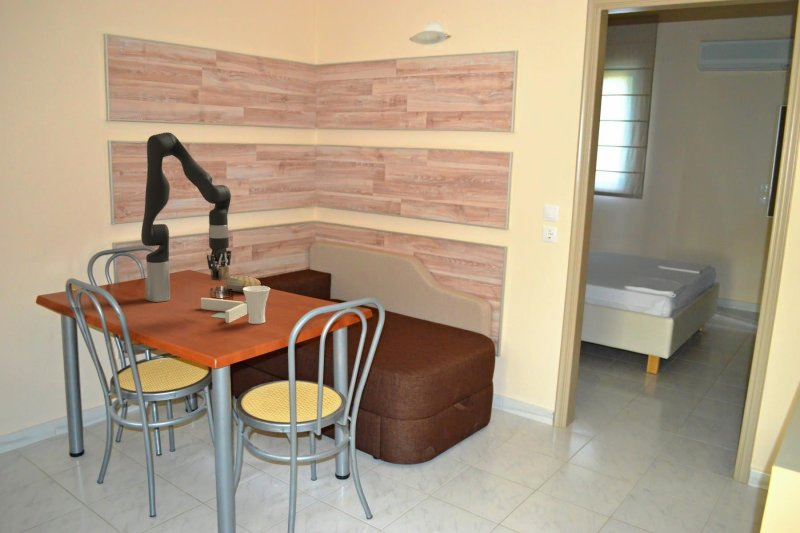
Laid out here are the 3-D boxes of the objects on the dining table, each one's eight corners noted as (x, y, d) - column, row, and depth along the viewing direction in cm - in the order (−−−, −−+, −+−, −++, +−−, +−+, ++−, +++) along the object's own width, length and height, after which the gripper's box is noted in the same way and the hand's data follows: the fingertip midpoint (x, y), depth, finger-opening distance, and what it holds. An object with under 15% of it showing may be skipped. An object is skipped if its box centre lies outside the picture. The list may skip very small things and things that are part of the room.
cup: (257, 327, 254) (256, 292, 251) (237, 322, 259) (236, 288, 256) (276, 321, 262) (275, 288, 260) (256, 316, 268) (256, 284, 265)
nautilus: (213, 289, 315) (241, 287, 325) (236, 295, 300) (265, 292, 310) (213, 273, 314) (241, 271, 324) (236, 277, 299) (265, 275, 309)
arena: (180, 317, 264) (180, 304, 263) (203, 307, 279) (203, 295, 278) (229, 322, 258) (229, 310, 257) (249, 312, 273) (249, 300, 272)
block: (221, 281, 261) (221, 268, 260) (210, 279, 263) (210, 267, 262) (228, 278, 266) (228, 266, 265) (218, 277, 268) (217, 265, 267)
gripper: (216, 239, 253) (217, 282, 257) (236, 234, 267) (237, 275, 270) (199, 237, 256) (201, 280, 259) (220, 233, 269) (221, 274, 272)
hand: (219, 278), depth 264 cm, fingers closed on block, 5 cm apart
